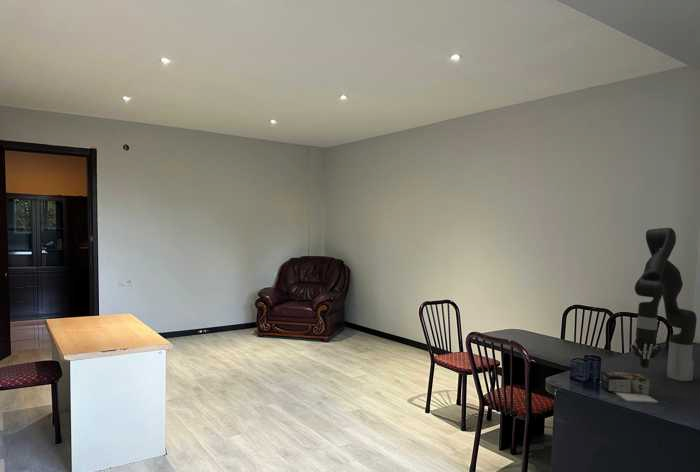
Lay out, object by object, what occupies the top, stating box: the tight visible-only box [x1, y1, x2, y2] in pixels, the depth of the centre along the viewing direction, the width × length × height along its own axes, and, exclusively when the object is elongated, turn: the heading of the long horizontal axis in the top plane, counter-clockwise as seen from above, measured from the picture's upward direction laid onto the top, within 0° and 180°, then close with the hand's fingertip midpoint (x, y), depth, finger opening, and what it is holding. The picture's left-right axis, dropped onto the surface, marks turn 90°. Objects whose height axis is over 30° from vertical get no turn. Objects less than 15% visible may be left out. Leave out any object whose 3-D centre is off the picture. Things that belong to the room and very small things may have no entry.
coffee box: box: [600, 370, 650, 395], centre depth 208 cm, size 9×6×16 cm
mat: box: [599, 381, 659, 404], centre depth 206 cm, size 12×22×1 cm, turn 0°
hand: (643, 367), depth 205 cm, fingers closed
